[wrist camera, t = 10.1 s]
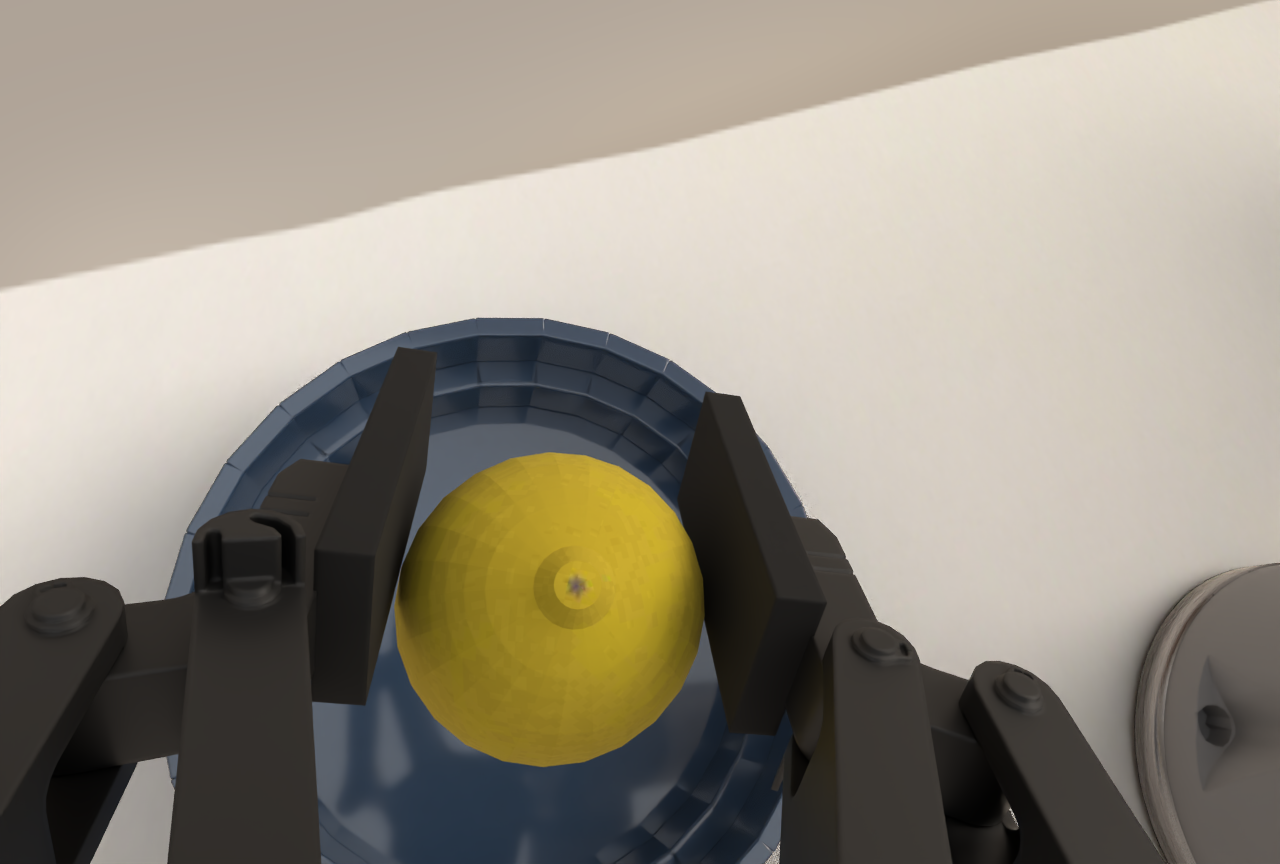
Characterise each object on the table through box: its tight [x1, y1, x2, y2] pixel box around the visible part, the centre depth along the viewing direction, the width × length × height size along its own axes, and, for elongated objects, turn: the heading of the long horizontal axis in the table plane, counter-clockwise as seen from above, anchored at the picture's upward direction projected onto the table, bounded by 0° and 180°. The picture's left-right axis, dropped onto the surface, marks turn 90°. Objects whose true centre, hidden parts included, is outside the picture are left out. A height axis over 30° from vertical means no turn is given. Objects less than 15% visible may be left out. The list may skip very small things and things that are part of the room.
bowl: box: [164, 318, 807, 864], centre depth 26 cm, size 18×18×5 cm
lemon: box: [394, 452, 705, 767], centre depth 16 cm, size 6×6×8 cm
